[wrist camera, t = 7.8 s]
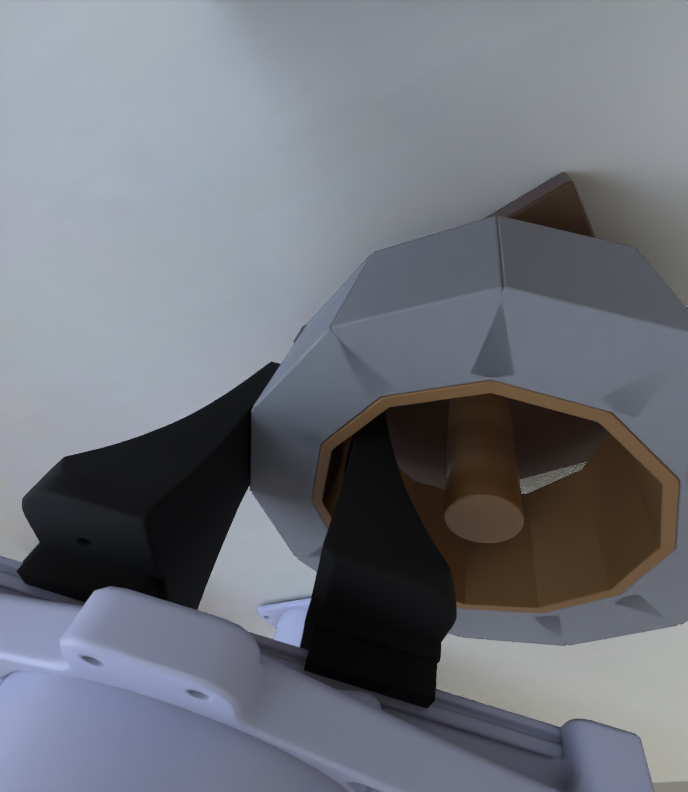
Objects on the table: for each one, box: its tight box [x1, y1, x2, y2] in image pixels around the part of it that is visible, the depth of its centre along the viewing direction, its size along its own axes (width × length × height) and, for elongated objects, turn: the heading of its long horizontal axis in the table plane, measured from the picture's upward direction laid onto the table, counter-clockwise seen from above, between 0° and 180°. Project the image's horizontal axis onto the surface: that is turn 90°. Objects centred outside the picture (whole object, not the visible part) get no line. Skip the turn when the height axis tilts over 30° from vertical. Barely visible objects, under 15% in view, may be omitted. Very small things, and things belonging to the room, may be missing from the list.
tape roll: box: [250, 216, 688, 646], centre depth 13 cm, size 13×13×4 cm
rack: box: [294, 172, 610, 543], centre depth 14 cm, size 10×10×7 cm
